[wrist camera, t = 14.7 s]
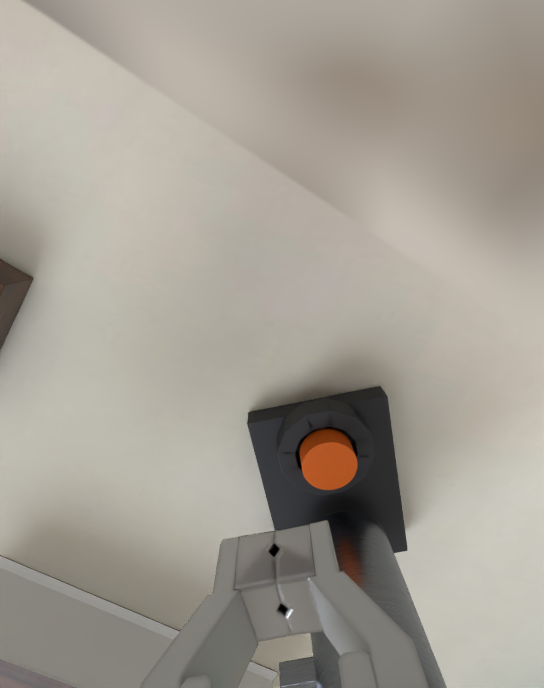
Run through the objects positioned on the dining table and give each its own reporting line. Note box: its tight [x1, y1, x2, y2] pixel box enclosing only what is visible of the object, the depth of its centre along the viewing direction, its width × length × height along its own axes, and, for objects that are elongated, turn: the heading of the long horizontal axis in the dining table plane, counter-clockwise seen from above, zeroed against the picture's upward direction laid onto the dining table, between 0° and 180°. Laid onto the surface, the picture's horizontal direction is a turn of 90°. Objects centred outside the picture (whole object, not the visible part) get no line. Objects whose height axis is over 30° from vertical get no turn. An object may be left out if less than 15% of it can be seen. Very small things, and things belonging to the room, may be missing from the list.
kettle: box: [279, 511, 447, 688], centre depth 22 cm, size 8×8×12 cm
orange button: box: [300, 428, 358, 490], centre depth 25 cm, size 4×4×2 cm
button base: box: [247, 386, 407, 553], centre depth 29 cm, size 15×10×4 cm
